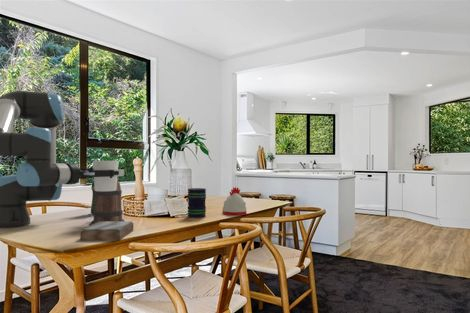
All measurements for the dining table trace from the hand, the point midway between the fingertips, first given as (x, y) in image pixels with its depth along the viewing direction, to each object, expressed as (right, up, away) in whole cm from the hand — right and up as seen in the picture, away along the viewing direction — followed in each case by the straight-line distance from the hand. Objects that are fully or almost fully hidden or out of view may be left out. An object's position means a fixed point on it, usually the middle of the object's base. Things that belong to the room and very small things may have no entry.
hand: (114, 172), depth 146 cm
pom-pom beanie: (+50, -27, +58) cm, 81 cm away
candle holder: (-2, -7, -4) cm, 9 cm away
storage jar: (+29, -26, +45) cm, 59 cm away
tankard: (-12, -26, +21) cm, 35 cm away
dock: (-1, -25, -4) cm, 25 cm away
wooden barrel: (-26, -26, +52) cm, 64 cm away
